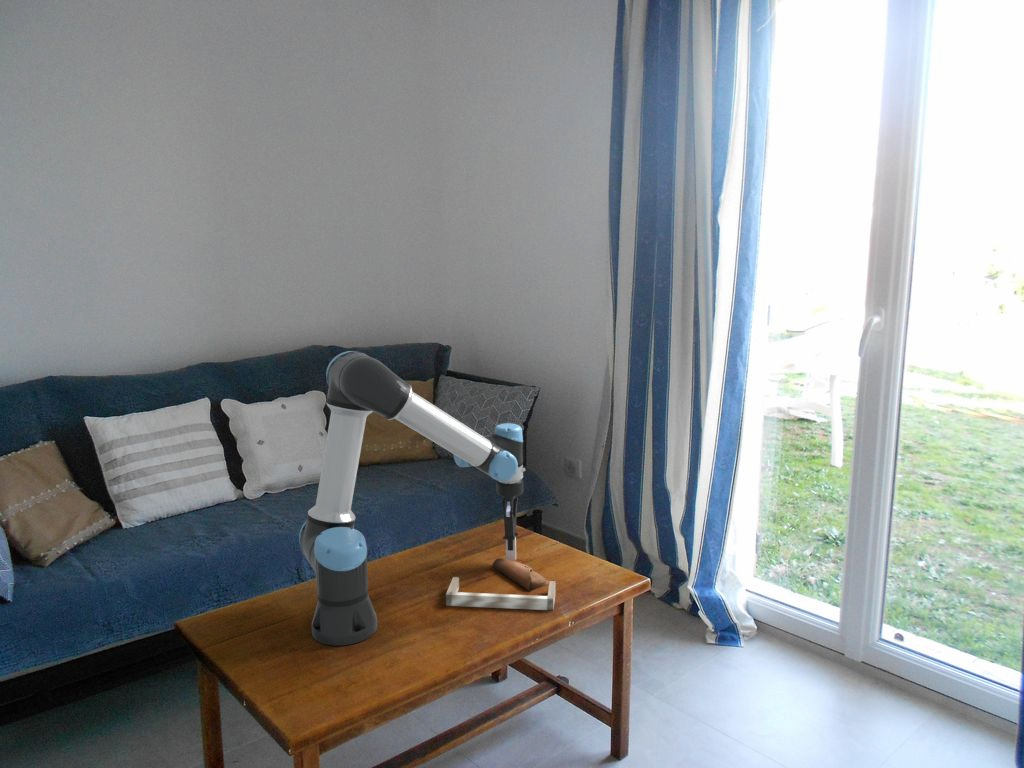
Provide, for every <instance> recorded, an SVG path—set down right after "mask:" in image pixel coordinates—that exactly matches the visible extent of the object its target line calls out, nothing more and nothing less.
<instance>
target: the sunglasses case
mask: <svg viewBox="0 0 1024 768" xmlns="http://www.w3.org/2000/svg"><path fill="white" fill-rule="evenodd" d="M492 569H493V570H494V571H496V572H498V573H499V574H501V575H503V576H506V577H507V578H508V579H509V580H512V581H513V582H515V583H516V584H517V585H519V586H521V587H522V588H524V589H525V590H527V591H528V592H532V591H535V590H537V589H540V588H543V587H546V586H547V585H549V583H550V580H547V578H545V577H544V576H542V575H541V574H540V573H538V572H536V571H534V570H533V568H532V567H531V566H530V565H527V564H524V563H522V562H519V561H516V560H508V559H506V558H496V559H494V561H493V563H492Z"/></svg>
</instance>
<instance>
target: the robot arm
mask: <svg viewBox="0 0 1024 768" xmlns="http://www.w3.org/2000/svg"><path fill="white" fill-rule="evenodd" d="M325 376H326V383H327V385H328V390H327V395H326V403H325V404H326V406H327V407H328V409H330V417H329V424H328V429H327V434H326V441H325V447H324V452H323V459H322V464H321V471H320V477H319V481H318V489H317V495H316V500H315V505H314V506H312V507H311V508H310V509H309V510H307V516H306V520H305V521H304V523H303V524H302V526H301V528H300V531H299V536H298V537H299V538H298V539H299V540H298V542H299V547H300V550H301V552H302V554H303V556H304V557H305V558H306V560H307V561H308V563H309V564H310V566H311V567H312V570H313V571H314V573H315V577H316V591H317V593H316V594H317V602H316V603H317V604H316V607H315V611H314V615H313V618H312V620H311V621H312V622H311V636H312V637H313V639H314V640H315V641H316V642H318V643H320V644H323V645H328V646H339V647H340V646H341V647H342V646H349V645H353V644H358V643H360V642H363V641H365V640H367V639H368V638H370V637H372V636H373V635H374V633H375V632H376V631H377V629H378V617H377V613H376V611H375V608H374V605H373V603H372V601H371V599H370V596H369V578H368V546H367V542H366V538H365V536H364V534H363V533H362V532H360V531H359V530H357V529H355V523H356V522H355V521H356V515H355V513H354V512H353V511H352V505H353V497H354V491H355V486H356V480H357V473H358V469H359V463H360V457H361V451H362V445H363V440H364V433H365V427H366V423H367V417H369V415H370V414H372V413H376V414H378V415H379V416H381V417H383V418H385V419H386V420H387V421H391V420H396V421H398V422H400V423H402V424H403V425H405V426H407V427H408V428H410V429H412V430H413V431H415V432H417V433H419V435H421V436H423V437H425V438H426V439H428V440H430V441H432V442H433V443H435V444H437V445H438V446H439V447H442V448H443V449H445V450H446V451H448V452H449V453H451V454H452V455H453V459H454V462H455V464H456V466H458V467H459V468H470V467H474V468H476V469H477V470H479V471H481V472H483V473H484V474H486V475H487V476H488V477H490V478H492V479H493V480H495V482H496V483H495V487H496V489H495V491H496V494H497V495H499V496H500V497H503V500H502V501H501V503H502V508H503V511H502V514H503V524H504V535H503V536H502V539H503V540H505V559H508V560H513V561H516V560H517V537H518V536H519V532H517V529H518V528H517V512H518V504H519V503H518V501H519V499H518V497H519V496H521V495H523V493H524V480H523V478H524V472H526V468H525V467H524V465H523V464H524V454H523V453H524V448H523V447H524V446H523V445H524V440H523V439H524V438H523V437H524V436H523V429H522V427H521V426H520V424H519V425H518V424H517V423H508V422H507V423H500V424H497V425H495V428H494V431H493V433H491V434H487V435H481V434H480V433H479V432H476V430H474V429H472V428H470V427H469V426H467V424H465V423H463V422H461V421H460V420H458V419H457V418H455V417H453V416H451V415H450V414H449V413H447V412H446V411H444V410H442V409H440V408H439V407H437V405H435V404H433V403H432V402H430V401H428V400H427V399H425V398H423V397H422V396H420V395H419V394H417V393H416V392H414V391H413V388H412V385H411V384H410V383H408V382H406V381H405V380H404V379H402V378H401V377H400V376H398V375H397V374H396V373H394V372H393V371H392V370H391V369H390V368H388V367H387V365H385V364H384V363H382V362H381V361H380V360H378V359H376V358H374V357H371V356H369V355H368V354H366V353H365V352H360V351H354V350H348V351H344V352H341V353H339V354H337V355H336V356H334V357H333V358H332V359H331V361H330V362H329V363H328V366H327V368H326V373H325Z"/></svg>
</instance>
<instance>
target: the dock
mask: <svg viewBox="0 0 1024 768" xmlns="http://www.w3.org/2000/svg"><path fill="white" fill-rule="evenodd" d="M556 587H557V586H556V581H555V580H554V581H553V580H549V583H548V589H547V590H548V592H547V595H533V594H532V595H531V594H529V595H528V594H511V593H510V594H507V593H489V592H487V593H485V592H483V593H482V592H481V593H480V592H461V591H460V592H459V589H460V578H459V576H452V579H451V582H450V583H449V586H448V589H447V591H446V592H445V606H447V607H449V606H450V607H469V608H472V607H473V608H493V609H494V608H495V609H513V610H515V609H516V610H518V609H519V610H537V611H539V610H540V611H554V609H555V608H554V607H555V600H556V599H555V598H556Z"/></svg>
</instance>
